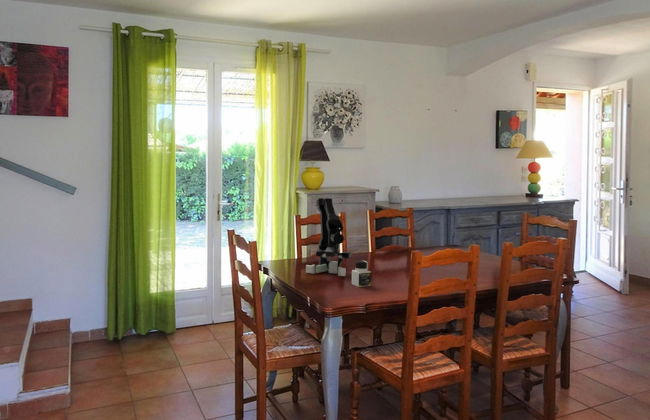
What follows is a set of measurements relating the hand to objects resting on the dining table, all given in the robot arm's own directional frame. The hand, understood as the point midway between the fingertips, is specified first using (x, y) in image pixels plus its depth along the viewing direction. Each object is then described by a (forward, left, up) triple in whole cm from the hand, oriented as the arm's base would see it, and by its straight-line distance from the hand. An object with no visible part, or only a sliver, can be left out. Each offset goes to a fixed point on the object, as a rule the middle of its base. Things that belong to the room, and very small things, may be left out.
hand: (333, 269), depth 294 cm
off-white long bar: (+6, -3, -2) cm, 6 cm away
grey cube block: (+1, 0, -1) cm, 1 cm away
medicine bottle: (+23, +21, -2) cm, 31 cm away
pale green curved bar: (0, -5, -1) cm, 5 cm away
